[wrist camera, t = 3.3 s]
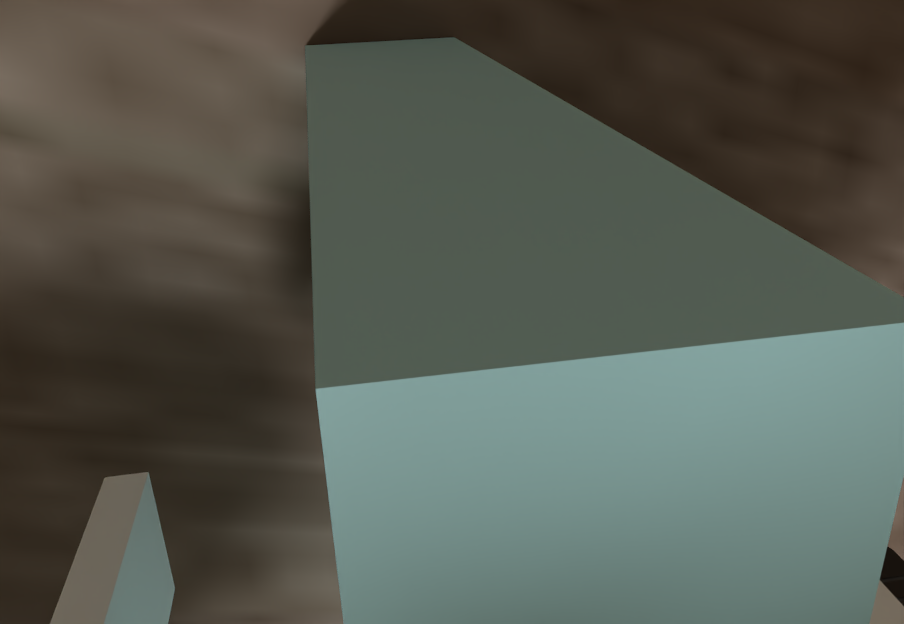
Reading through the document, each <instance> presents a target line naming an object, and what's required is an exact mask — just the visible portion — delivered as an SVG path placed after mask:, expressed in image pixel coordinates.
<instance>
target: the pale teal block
mask: <svg viewBox="0 0 904 624" xmlns="http://www.w3.org/2000/svg"><path fill="white" fill-rule="evenodd" d="M305 58H306V91H307V124H308V157H309V190H310V224H311V257H312V290H313V323H314V356H315V389H316V397H317V406H318V414H319V422H320V431H321V439H322V447H323V455H324V464H325V472H326V480H327V489H328V497H329V505H330V514H331V522H332V530H333V539H334V547H335V555H336V563H337V572H338V580H339V588H340V597H341V605H342V613H343V622H344V624H869V623H870V619H871V614H872V610H873V606H874V601H875V597H876V593H877V589H878V584H879V580H880V576H881V571H882V567H883V563H884V558H885V554H886V550H887V545H888V541H889V537H890V533H891V528H892V524H893V520H894V515H895V511H896V507H897V502H898V498H899V494H900V489H901V485H902V481H903V476H904V297H902V296H900V295H899V294H897V293H895V292H893V291H892V290H890V289H888V288H886V287H885V286H883V285H881V284H880V283H878V282H876V281H874V280H873V279H871V278H869V277H867V276H866V275H864V274H862V273H861V272H859V271H857V270H855V269H854V268H852V267H850V266H848V265H847V264H845V263H843V262H842V261H840V260H838V259H836V258H835V257H833V256H831V255H829V254H828V253H826V252H824V251H823V250H821V249H819V248H817V247H816V246H814V245H812V244H810V243H809V242H807V241H805V240H804V239H802V238H800V237H798V236H797V235H795V234H793V233H791V232H790V231H788V230H786V229H785V228H783V227H781V226H779V225H778V224H776V223H774V222H772V221H771V220H769V219H767V218H766V217H764V216H762V215H760V214H759V213H757V212H755V211H753V210H752V209H750V208H748V207H747V206H745V205H743V204H741V203H740V202H738V201H736V200H734V199H733V198H731V197H729V196H728V195H726V194H724V193H722V192H721V191H719V190H717V189H715V188H714V187H712V186H710V185H709V184H707V183H705V182H703V181H702V180H700V179H698V178H696V177H695V176H693V175H691V174H690V173H688V172H686V171H684V170H683V169H681V168H679V167H677V166H676V165H674V164H672V163H671V162H669V161H667V160H665V159H664V158H662V157H660V156H659V155H657V154H655V153H653V152H652V151H650V150H648V149H646V148H645V147H643V146H641V145H640V144H638V143H636V142H634V141H633V140H631V139H629V138H627V137H626V136H624V135H622V134H621V133H619V132H617V131H615V130H614V129H612V128H610V127H608V126H607V125H605V124H603V123H602V122H600V121H598V120H596V119H595V118H593V117H591V116H589V115H588V114H586V113H584V112H583V111H581V110H579V109H577V108H576V107H574V106H572V105H570V104H569V103H567V102H565V101H564V100H562V99H560V98H558V97H557V96H555V95H553V94H551V93H550V92H548V91H546V90H545V89H543V88H541V87H539V86H538V85H536V84H534V83H532V82H531V81H529V80H527V79H526V78H524V77H522V76H520V75H519V74H517V73H515V72H513V71H512V70H510V69H508V68H507V67H505V66H503V65H501V64H500V63H498V62H496V61H494V60H493V59H491V58H489V57H488V56H486V55H484V54H482V53H481V52H479V51H477V50H475V49H474V48H472V47H470V46H469V45H467V44H465V43H463V42H462V41H460V40H458V39H456V38H455V37H450V38H432V39H414V40H396V41H378V42H360V43H342V44H324V45H306V46H305Z"/></svg>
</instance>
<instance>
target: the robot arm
mask: <svg viewBox="0 0 904 624" xmlns="http://www.w3.org/2000/svg"><path fill="white" fill-rule="evenodd" d="M174 592H175V586H174V582H173V577H172V573H171V568H170V564H169V560H168V555H167V551H166V547H165V542H164V538H163V533H162V529H161V525H160V520H159V516H158V511H157V507H156V503H155V498H154V494H153V490H152V485H151V481H150V476H149V472H144V473H136V474H128V475H120V476H111V477H105V478H104V480H103V483H102V486H101V488H100V491H99V494H98V496H97V499H96V502H95V504H94V507H93V510H92V512H91V515H90V518H89V520H88V523H87V526H86V528H85V531H84V534H83V536H82V539H81V542H80V544H79V547H78V550H77V552H76V555H75V558H74V561H73V563H72V566H71V569H70V571H69V574H68V577H67V579H66V582H65V585H64V587H63V590H62V593H61V595H60V598H59V601H58V603H57V606H56V609H55V611H54V614H53V617H52V619H51V622H50V624H168V622H169V617H170V612H171V607H172V602H173V597H174ZM869 624H904V561H903V560H902V559H901V558H900V556H899V555H898V554H897V553H896V552H895V551H894V550H892V549H891V548H889V547H887V550H886V554H885V558H884V563H883V567H882V571H881V576H880V580H879V584H878V589H877V593H876V597H875V601H874V606H873V610H872V614H871V619H870V623H869Z"/></svg>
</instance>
